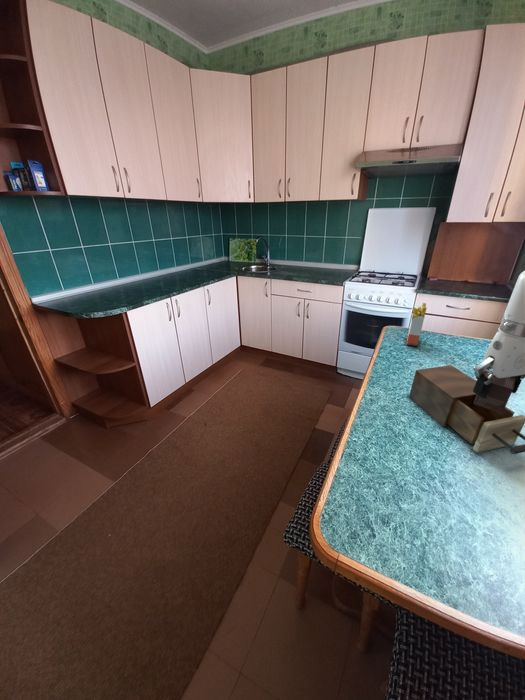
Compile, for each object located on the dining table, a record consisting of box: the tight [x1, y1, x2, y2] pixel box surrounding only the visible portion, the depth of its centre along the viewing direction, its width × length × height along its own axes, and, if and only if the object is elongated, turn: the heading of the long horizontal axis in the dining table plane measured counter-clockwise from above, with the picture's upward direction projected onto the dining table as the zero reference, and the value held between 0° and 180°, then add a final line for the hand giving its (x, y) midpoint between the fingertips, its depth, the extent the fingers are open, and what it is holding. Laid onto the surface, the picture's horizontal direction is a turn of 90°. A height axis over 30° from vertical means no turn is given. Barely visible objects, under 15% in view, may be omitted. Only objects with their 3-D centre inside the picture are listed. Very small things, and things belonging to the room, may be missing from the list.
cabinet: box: [408, 364, 477, 428], centre depth 86 cm, size 15×13×11 cm
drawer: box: [447, 396, 525, 455], centre depth 74 cm, size 20×11×9 cm, turn 13°
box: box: [474, 372, 516, 413], centre depth 72 cm, size 6×6×7 cm
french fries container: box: [406, 302, 427, 347], centre depth 125 cm, size 5×11×18 cm, turn 153°
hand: (494, 392), depth 72 cm, fingers closed on box, 8 cm apart
